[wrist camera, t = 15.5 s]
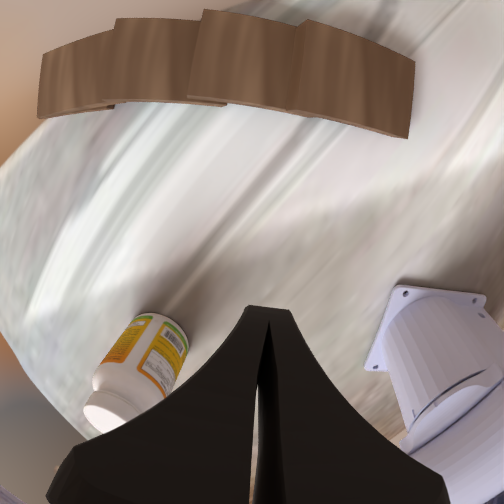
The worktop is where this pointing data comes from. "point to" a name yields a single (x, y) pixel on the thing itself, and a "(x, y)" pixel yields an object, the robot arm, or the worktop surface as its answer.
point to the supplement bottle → (136, 371)
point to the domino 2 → (151, 61)
